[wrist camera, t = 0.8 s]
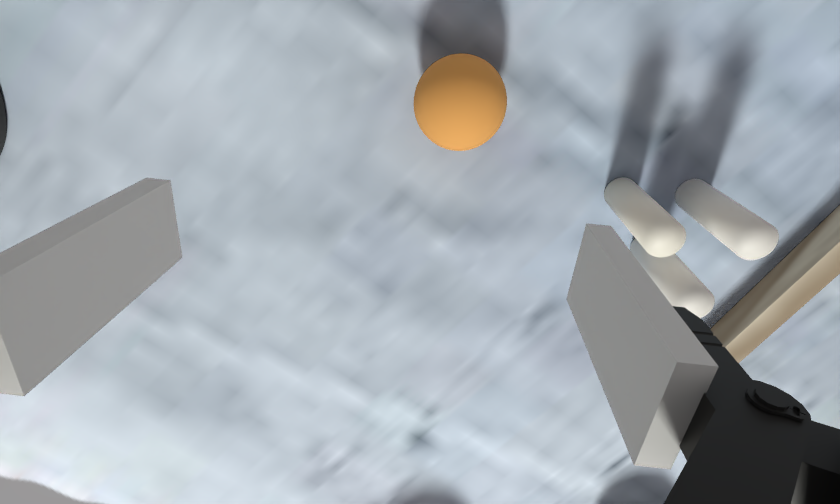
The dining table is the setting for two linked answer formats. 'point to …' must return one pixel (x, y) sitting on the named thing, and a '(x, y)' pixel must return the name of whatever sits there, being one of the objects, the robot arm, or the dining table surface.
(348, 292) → the dining table surface
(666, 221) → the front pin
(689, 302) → the pin
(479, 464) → the dining table surface
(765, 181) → the dining table surface
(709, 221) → the pin
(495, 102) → the ball
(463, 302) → the dining table surface
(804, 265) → the brown wooden bar
